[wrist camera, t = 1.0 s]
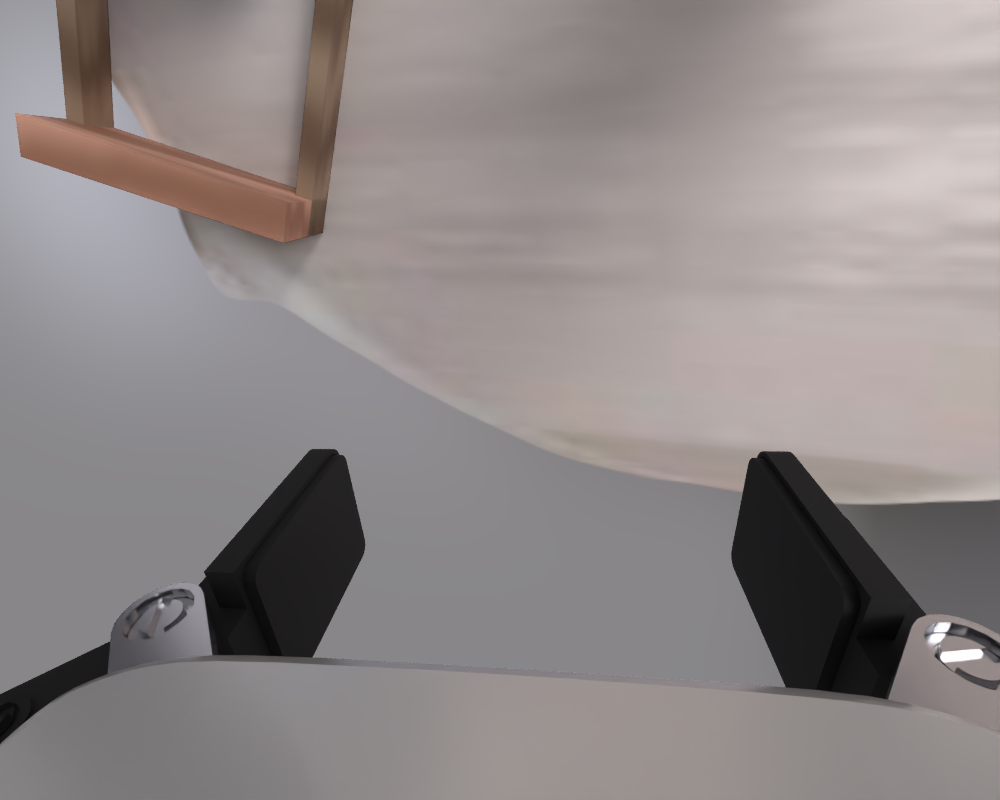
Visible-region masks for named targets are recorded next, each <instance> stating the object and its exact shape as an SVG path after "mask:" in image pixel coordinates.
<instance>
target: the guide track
mask: <svg viewBox="0 0 1000 800" xmlns="http://www.w3.org/2000/svg"><path fill="white" fill-rule="evenodd" d="M56 5H57V16H58V28H59V39H60V50H61V61H62V72H63V84H64V95H65V105H66V116H67V119H62V118H53V117H44V116H35V115H25V114H15V115H16V122H17V130H18V137H19V145H20V152H21V157H24V158H27V159H30V160H33V161H36V162H39V163H42V164H45V165H49V166H51V167H54V168H58V169H60V170H63V171H67V172H70V173H73V174H76V175H79V176H82V177H85V178H88V179H91V180H94V181H97V182H100V183H103V184H106V185H109V186H112V187H115V188H118V189H122V190H125V191H127V192H130V193H134V194H136V195H140V196H143V197H146V198H149V199H152V200H155V201H158V202H161V203H164V204H167V205H170V206H173V207H176V208H179V209H182V210H185V211H188V212H191V213H194V214H197V215H200V216H203V217H206V218H209V219H213V220H216V221H219V222H222V223H225V224H228V225H231V226H234V227H237V228H240V229H243V230H246V231H249V232H252V233H255V234H258V235H261V236H264V237H267V238H270V239H273V240H276V241H279V242H283V243H284V242H288V241H292V240H296V239H300V238H304V237H308V236H311V235H315V234H319V233H323V226H324V219H325V211H326V203H327V196H328V188H329V180H330V173H331V165H332V158H333V150H334V142H335V135H336V127H337V119H338V112H339V104H340V97H341V89H342V81H343V74H344V66H345V59H346V51H347V43H348V36H349V28H350V20H351V13H352V5H353V0H315V10H314V20H313V29H312V39H311V49H310V58H309V68H308V78H307V87H306V97H305V107H304V116H303V126H302V136H301V145H300V155H299V165H298V175H297V184H296V188H293V187H290V186H287V185H284V184H281V183H278V182H275V181H272V180H269V179H266V178H263V177H260V176H257V175H254V174H251V173H248V172H245V171H242V170H239V169H236V168H233V167H230V166H227V165H224V164H221V163H218V162H215V161H212V160H209V159H206V158H203V157H200V156H197V155H194V154H191V153H188V152H185V151H182V150H179V149H176V148H173V147H170V146H167V145H164V144H161V143H158V142H155V141H152V140H149V139H146V138H143V137H139V136H137V135H134V134H131V133H127V132H125V131H122V130H119V129H115V128H114V121H113V104H112V103H113V102H112V83H111V63H110V44H109V24H108V5H107V0H56Z"/></svg>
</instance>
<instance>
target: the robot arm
mask: <svg viewBox="0 0 1000 800" xmlns="http://www.w3.org/2000/svg"><path fill="white" fill-rule="evenodd" d="M364 550H365V539H364V534H363V530H362V526H361V522H360V517H359V513H358V509H357V504H356V500H355V496H354V492H353V488H352V483H351V479H350V474H349V470H348V466H347V462H346V459H345V457H344V456H343V455H339V453H338V451H337V450H335V449H312V450H310V451H309V452H308V453H307V454H306V455H305V456H304V457H303V459H302V460H301V461H300V462H299V463H298V464H297V466H296V467H295V468H294V469H293V470H292V471H291V473H290V474H289V475H288V476H287V477H286V478H285V479H284V480H283V482H282V483H281V484H280V485H279V486H278V487H277V488H276V490H275V491H274V492H273V493H272V494H271V495H270V497H269V498H268V499H267V500H266V501H265V502H264V503H263V505H262V506H261V507H260V508H259V509H258V510H257V512H256V513H255V514H254V515H253V516H252V517H251V518H250V520H249V521H248V522H247V523H246V524H245V525H244V526H243V528H242V529H241V530H240V531H239V532H238V533H237V534H236V536H235V537H234V538H233V539H232V540H231V541H230V542H229V544H228V545H227V546H226V547H225V548H224V549H223V551H222V552H221V553H220V554H219V555H218V556H217V557H216V559H215V560H214V561H213V562H212V563H211V565H209V567H208V568H207V569H206V570H205V571H204V573H205V575H206V577H205V579H204V580H203V581H202V582H201V583H200V584H199V586H197V585H196V584H194V583H185V582H182V583H175V584H170V585H167V586H164V587H161V588H158V589H156V590H154V591H152V592H150V593H148V594H146V595H144V596H143V597H141V598H140V599H138V600H137V601H135V602H134V603H132V604H131V605H130V606H129V607H128V608H127V609H126V610H125V611H124V612H123V613H121V615H120V616H119V618H118V619H117V620H116V622H115V623H114V626H113V629H112V632H111V639H110V642H108V643H106V644H104V645H102V646H100V647H98V648H95V649H93V650H91V651H89V652H87V653H85V654H83V655H81V656H79V657H77V658H75V659H73V660H71V661H68V662H66V663H64V664H62V665H60V666H58V667H56V668H54V669H52V670H50V671H48V672H46V673H44V674H41V675H40V676H37V677H35V678H33V679H31V680H29V681H27V682H25V683H23V684H21V685H19V686H17V687H14V688H12V689H10V690H8V691H6V692H4V693H2V694H0V800H1000V635H999V634H997V633H995V632H993V631H991V630H989V629H987V628H985V627H983V626H981V625H979V624H977V623H974V622H971V621H968V620H965V619H962V618H959V617H954V616H949V615H943V614H942V615H941V614H936V615H926V614H925V613H924V611H923V610H922V609H921V608H920V607H919V605H918V604H917V603H916V602H915V600H914V599H913V598H912V597H911V596H910V594H909V593H908V592H907V591H906V590H905V588H904V587H903V586H902V585H901V584H900V582H899V581H898V580H897V579H896V577H895V576H894V575H893V574H892V573H891V571H890V570H889V569H888V568H887V566H886V565H885V564H884V563H883V562H882V560H881V559H880V558H879V557H878V555H877V554H876V553H875V552H874V551H873V549H872V548H871V547H870V546H869V545H868V543H867V542H866V541H865V540H864V538H863V537H862V536H861V535H860V534H859V532H858V531H857V530H856V529H855V527H854V526H853V525H852V524H851V523H850V521H849V520H848V519H847V518H845V516H843V515H842V513H841V512H840V511H839V509H838V508H837V507H836V506H835V505H834V503H833V502H832V501H831V500H830V498H829V497H828V496H827V495H826V494H825V492H824V491H823V490H822V489H821V487H820V486H819V485H818V484H817V483H816V481H815V480H814V479H813V478H812V476H811V475H810V474H809V473H808V472H807V470H806V469H805V468H804V467H803V465H802V464H801V463H800V462H799V461H798V459H797V458H796V457H795V456H794V455H793V454H792V453H791V452H768V451H762V452H760V453H759V455H758V457H757V458H751V459H750V461H749V464H748V469H747V474H746V479H745V484H744V490H743V495H742V500H741V505H740V510H739V516H738V521H737V526H736V531H735V536H734V541H733V546H732V553H731V555H732V563H733V567H734V570H735V572H736V575H737V577H738V579H739V581H740V584H741V586H742V588H743V590H744V593H745V595H746V597H747V599H748V602H749V604H750V606H751V609H752V611H753V613H754V616H755V618H756V620H757V622H758V624H759V627H760V629H761V632H762V634H763V636H764V638H765V641H766V643H767V645H768V647H769V650H770V652H771V654H772V657H773V659H774V661H775V663H776V666H777V668H778V670H779V673H780V675H781V677H782V679H783V681H784V684H785V686H786V687H773V686H760V685H749V684H737V683H724V682H709V681H695V680H680V679H664V678H649V677H634V676H619V675H604V674H589V673H573V672H557V671H540V670H523V669H508V668H490V667H474V666H458V665H441V664H423V663H405V662H386V661H367V660H350V659H332V658H312V657H313V655H314V653H315V651H316V649H317V647H318V645H319V643H320V641H321V639H322V637H323V635H324V633H325V631H326V629H327V627H328V625H329V623H330V621H331V619H332V617H333V615H334V613H335V611H336V609H337V607H338V605H339V603H340V601H341V599H342V597H343V595H344V593H345V591H346V589H347V587H348V585H349V583H350V581H351V579H352V577H353V575H354V573H355V571H356V569H357V567H358V565H359V563H360V561H361V559H362V556H363V554H364Z"/></svg>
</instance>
